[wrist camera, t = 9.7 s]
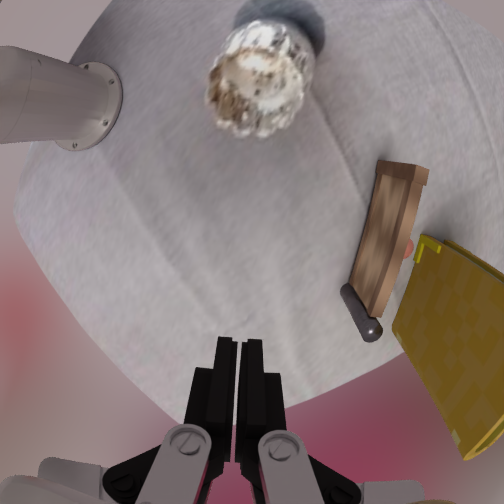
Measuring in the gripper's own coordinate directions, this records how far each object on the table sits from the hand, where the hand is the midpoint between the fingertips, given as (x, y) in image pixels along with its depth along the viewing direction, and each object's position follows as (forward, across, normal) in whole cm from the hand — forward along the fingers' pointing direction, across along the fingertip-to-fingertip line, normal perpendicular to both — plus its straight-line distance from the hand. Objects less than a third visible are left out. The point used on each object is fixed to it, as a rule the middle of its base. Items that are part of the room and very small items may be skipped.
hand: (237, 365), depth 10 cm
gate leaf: (+24, -15, -1) cm, 28 cm away
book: (+24, -27, +8) cm, 37 cm away
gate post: (+24, -14, +9) cm, 29 cm away
